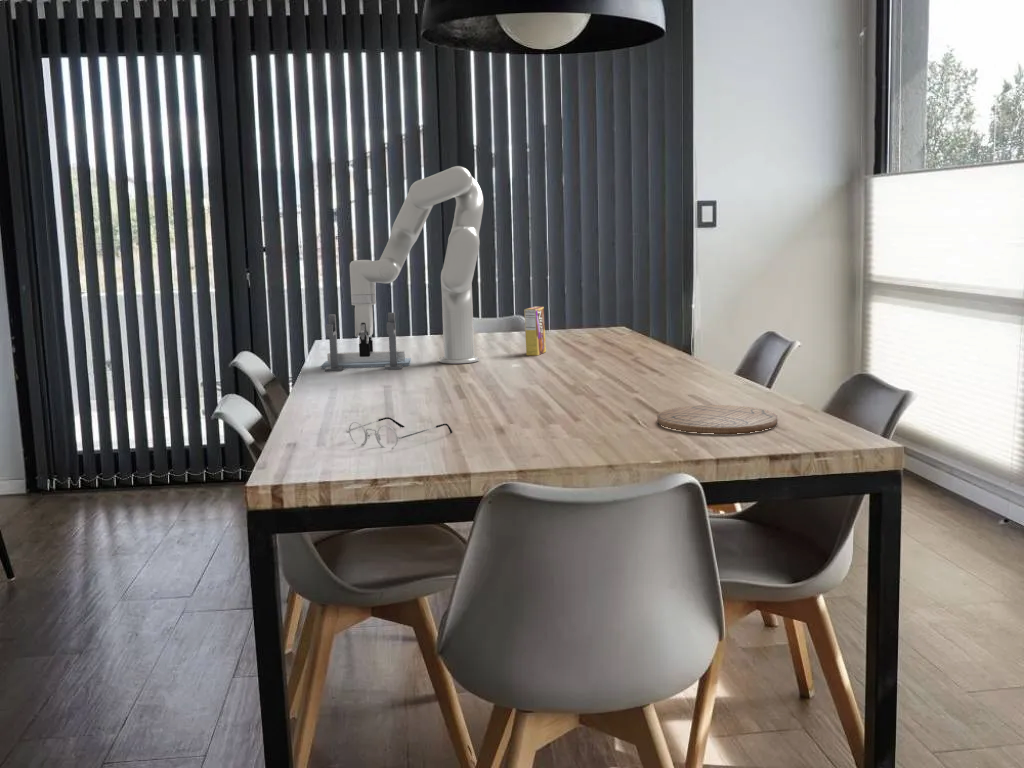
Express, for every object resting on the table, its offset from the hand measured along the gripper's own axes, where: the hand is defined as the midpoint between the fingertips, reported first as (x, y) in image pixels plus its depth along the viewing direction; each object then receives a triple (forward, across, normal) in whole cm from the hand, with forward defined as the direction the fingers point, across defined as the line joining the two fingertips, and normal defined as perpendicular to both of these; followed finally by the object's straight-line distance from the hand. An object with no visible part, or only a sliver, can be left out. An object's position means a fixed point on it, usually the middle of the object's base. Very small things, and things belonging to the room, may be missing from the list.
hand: (366, 354), depth 320 cm
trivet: (+4, +108, +85) cm, 138 cm away
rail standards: (+3, +10, 0) cm, 11 cm away
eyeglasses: (+4, +112, +18) cm, 114 cm away
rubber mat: (+3, 0, 0) cm, 3 cm away
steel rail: (+2, 0, 0) cm, 2 cm away
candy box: (+3, -13, +54) cm, 56 cm away
